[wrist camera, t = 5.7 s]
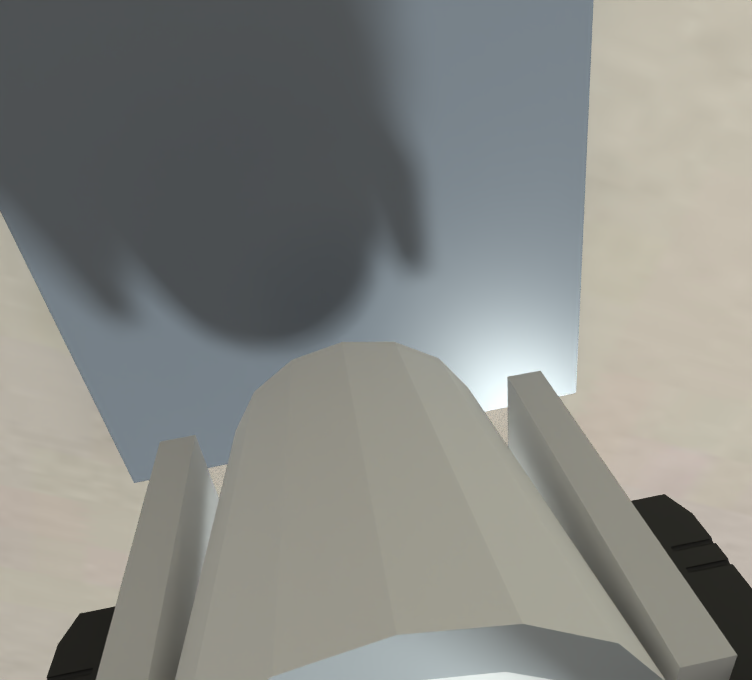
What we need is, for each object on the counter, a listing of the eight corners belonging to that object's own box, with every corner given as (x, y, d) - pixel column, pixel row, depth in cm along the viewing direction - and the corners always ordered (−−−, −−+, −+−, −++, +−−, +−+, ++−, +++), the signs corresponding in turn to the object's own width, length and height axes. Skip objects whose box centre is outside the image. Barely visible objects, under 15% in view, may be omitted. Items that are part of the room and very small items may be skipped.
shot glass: (187, 537, 14) (121, 931, 8) (231, 284, 11) (178, 621, 5) (448, 557, 16) (551, 893, 10) (550, 343, 13) (787, 645, 7)
